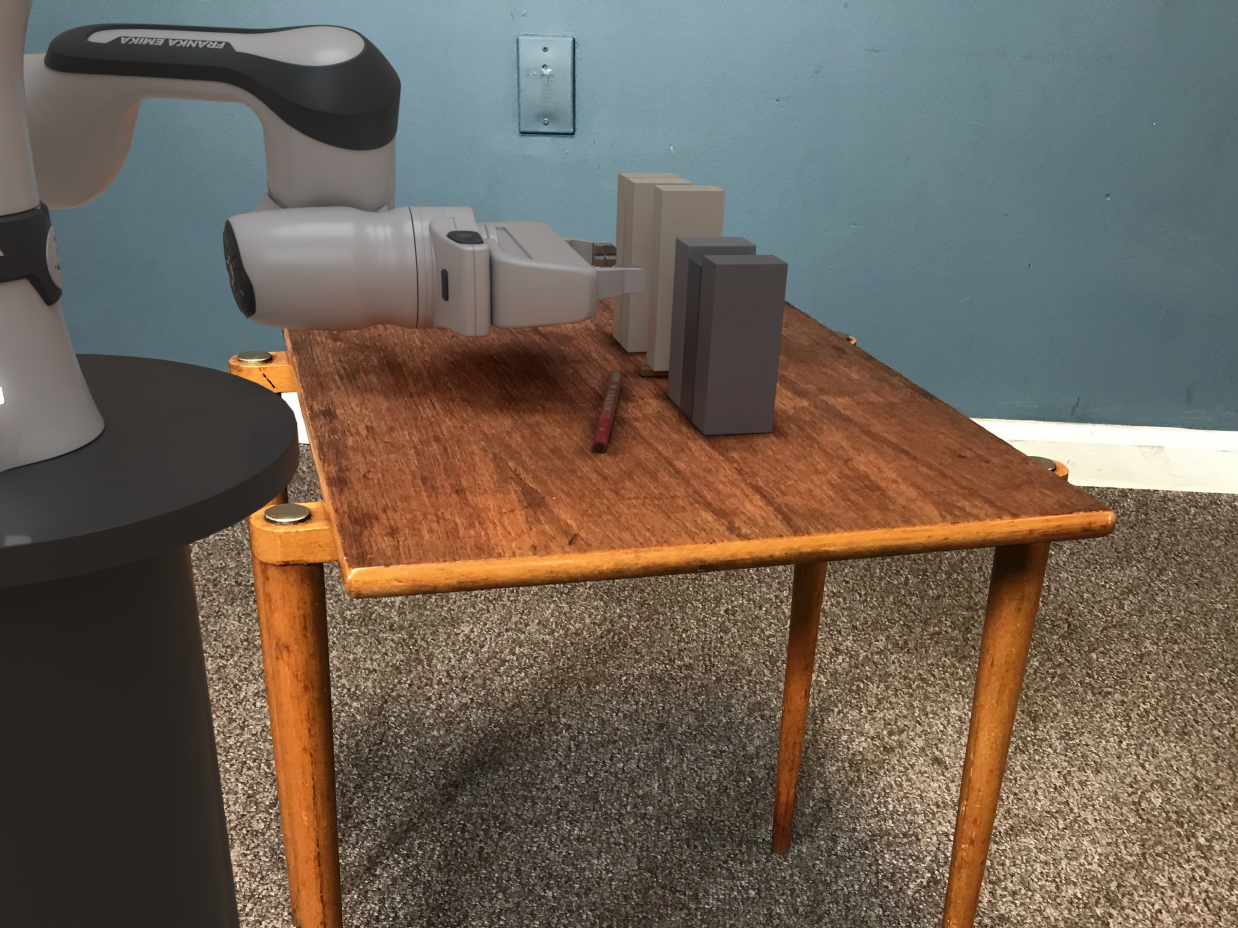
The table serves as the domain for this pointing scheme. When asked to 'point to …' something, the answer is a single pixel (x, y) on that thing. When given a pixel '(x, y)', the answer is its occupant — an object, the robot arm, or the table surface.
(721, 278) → the grey books
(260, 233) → the robot arm
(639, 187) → the white books
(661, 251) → the white book
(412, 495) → the table surface
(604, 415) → the pencil
